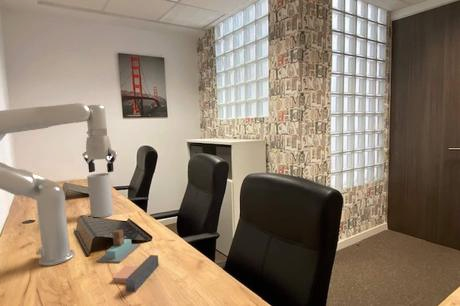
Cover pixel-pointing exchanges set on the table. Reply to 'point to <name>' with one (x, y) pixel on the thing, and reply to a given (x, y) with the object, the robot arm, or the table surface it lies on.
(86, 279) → the table surface
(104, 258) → the mat
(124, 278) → the terracotta tile
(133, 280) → the bar
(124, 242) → the push block
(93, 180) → the cylinder vase
